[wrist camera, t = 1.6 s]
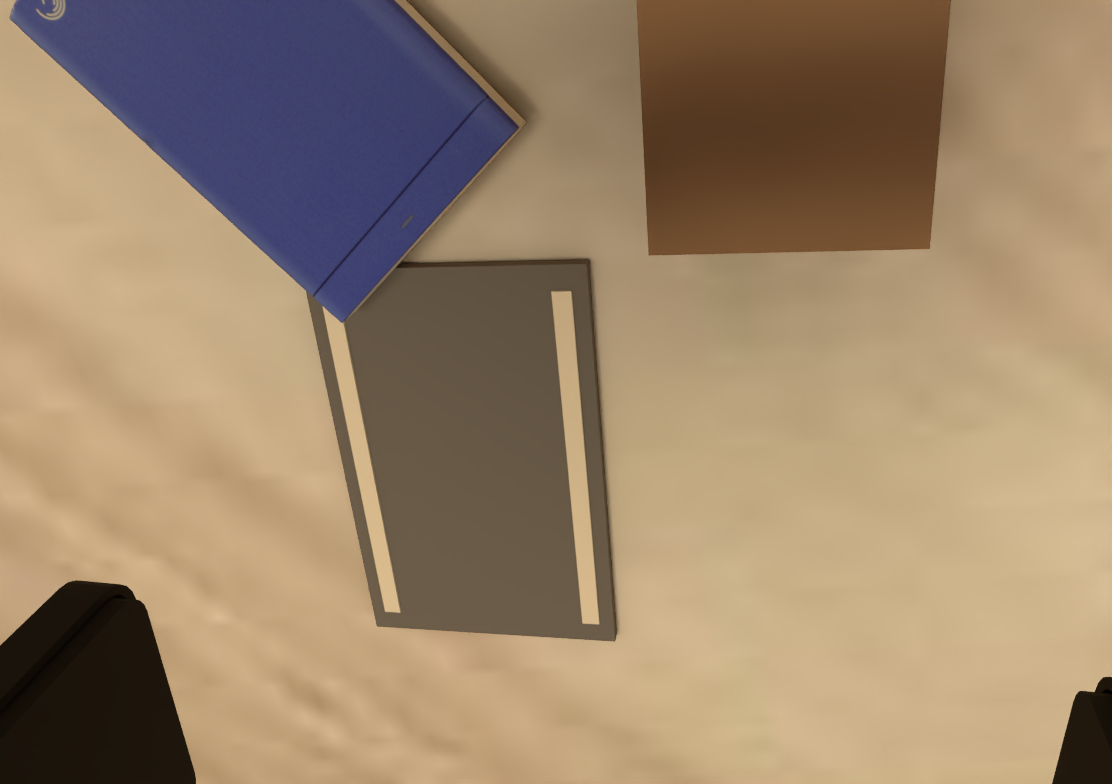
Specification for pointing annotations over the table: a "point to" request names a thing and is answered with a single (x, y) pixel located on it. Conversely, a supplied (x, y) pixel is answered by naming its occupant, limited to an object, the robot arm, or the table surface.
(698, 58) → the cube
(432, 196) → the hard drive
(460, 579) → the mat
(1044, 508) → the table surface
